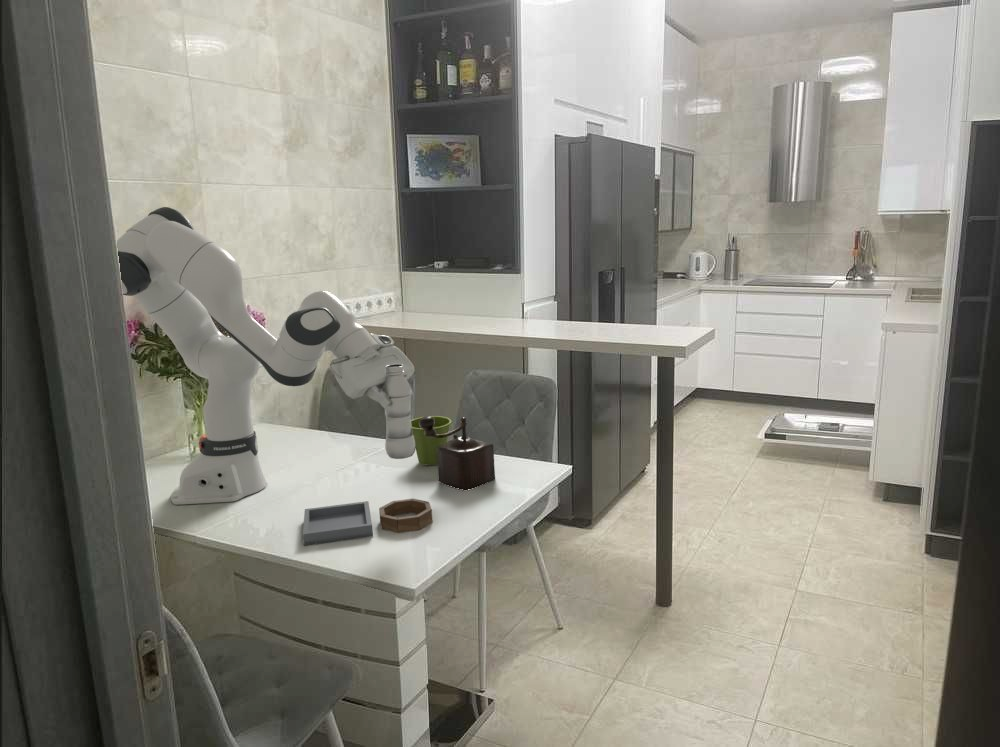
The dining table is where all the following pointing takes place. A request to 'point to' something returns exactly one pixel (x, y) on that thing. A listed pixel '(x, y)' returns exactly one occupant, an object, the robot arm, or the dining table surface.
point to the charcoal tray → (337, 523)
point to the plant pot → (429, 439)
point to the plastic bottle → (398, 414)
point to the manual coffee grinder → (462, 457)
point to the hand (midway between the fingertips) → (399, 400)
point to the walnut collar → (405, 522)
